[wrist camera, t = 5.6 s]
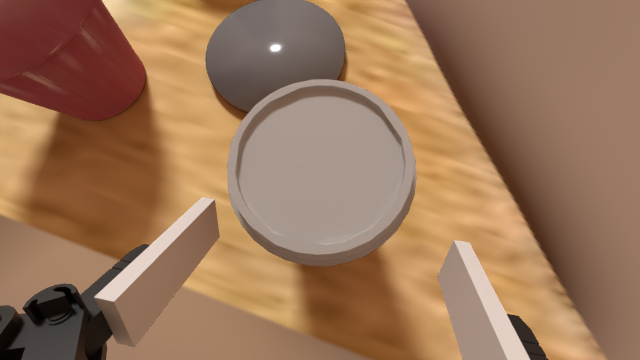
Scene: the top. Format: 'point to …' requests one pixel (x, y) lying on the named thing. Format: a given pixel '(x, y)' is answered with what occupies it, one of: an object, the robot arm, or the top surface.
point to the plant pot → (67, 57)
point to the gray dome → (272, 50)
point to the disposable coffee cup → (321, 172)
